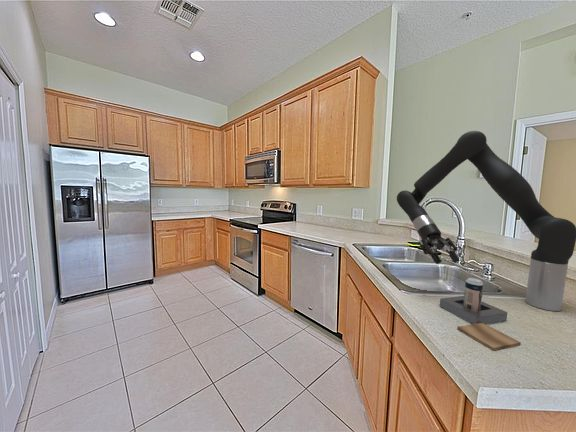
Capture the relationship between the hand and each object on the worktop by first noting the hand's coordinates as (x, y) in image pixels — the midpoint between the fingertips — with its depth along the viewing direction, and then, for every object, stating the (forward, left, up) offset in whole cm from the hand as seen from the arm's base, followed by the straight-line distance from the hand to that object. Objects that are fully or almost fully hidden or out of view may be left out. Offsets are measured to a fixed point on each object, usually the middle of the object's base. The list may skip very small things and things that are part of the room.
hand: (448, 262), depth 89 cm
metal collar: (0, +10, -15) cm, 18 cm away
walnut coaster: (+9, +22, -15) cm, 28 cm away
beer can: (0, +10, -15) cm, 18 cm away
